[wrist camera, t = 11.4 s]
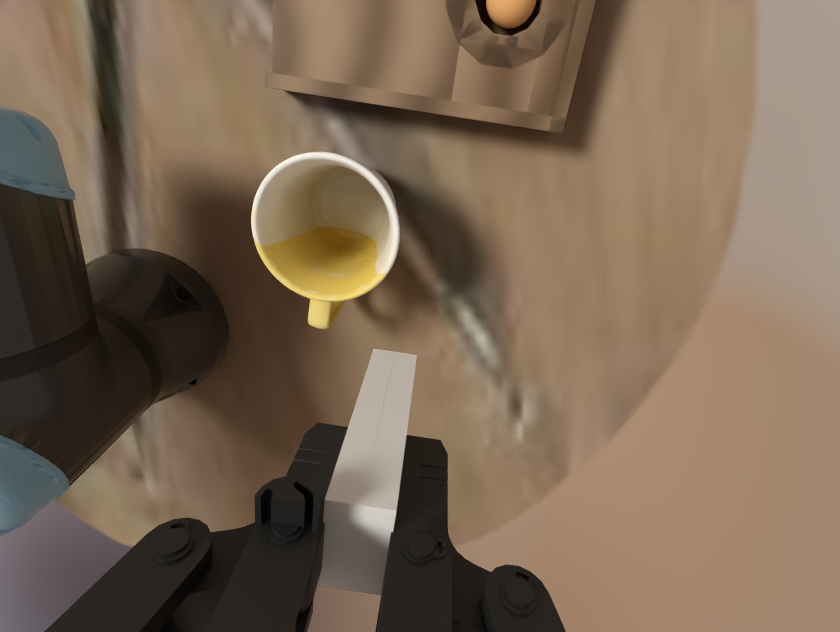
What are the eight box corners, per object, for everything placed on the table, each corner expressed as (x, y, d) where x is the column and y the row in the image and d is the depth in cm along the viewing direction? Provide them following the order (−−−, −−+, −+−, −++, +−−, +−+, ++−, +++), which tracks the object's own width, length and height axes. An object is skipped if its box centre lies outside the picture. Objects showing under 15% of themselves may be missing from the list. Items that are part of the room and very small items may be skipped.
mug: (318, 123, 37) (272, 123, 27) (430, 175, 38) (424, 193, 28) (273, 265, 42) (222, 308, 32) (372, 307, 43) (351, 360, 34)
